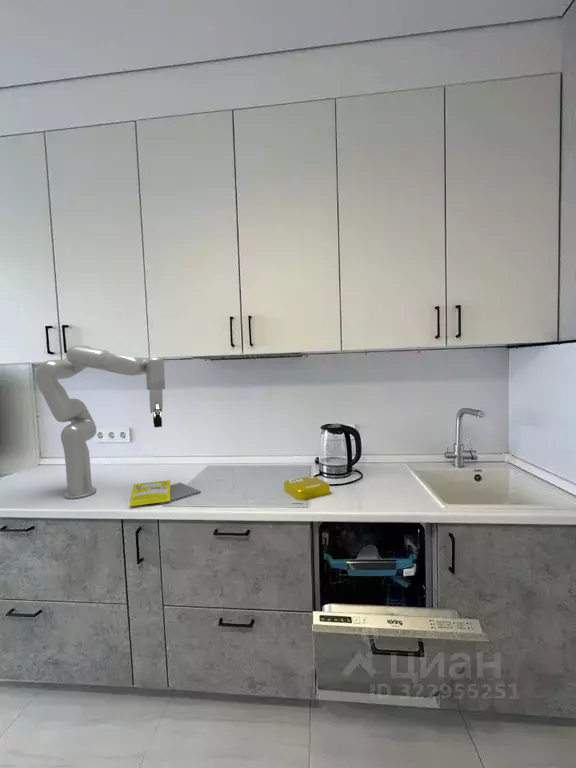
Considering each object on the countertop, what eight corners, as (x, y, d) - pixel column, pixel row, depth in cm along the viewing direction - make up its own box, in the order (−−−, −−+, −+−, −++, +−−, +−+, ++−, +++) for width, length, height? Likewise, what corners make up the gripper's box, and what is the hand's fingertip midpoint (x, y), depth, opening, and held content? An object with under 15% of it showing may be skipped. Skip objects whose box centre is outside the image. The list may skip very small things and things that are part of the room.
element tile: (299, 502, 157) (299, 490, 157) (282, 491, 171) (282, 480, 170) (331, 494, 164) (331, 483, 164) (313, 484, 177) (312, 474, 177)
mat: (142, 494, 173) (142, 493, 172) (180, 484, 185) (180, 482, 185) (161, 505, 159) (160, 503, 159) (200, 492, 172) (200, 491, 172)
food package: (133, 485, 176) (129, 507, 157) (133, 483, 175) (129, 504, 157) (170, 481, 180) (170, 502, 161) (170, 478, 180) (169, 499, 161)
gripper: (146, 385, 181) (148, 422, 182) (146, 387, 165) (148, 429, 166) (163, 384, 183) (165, 421, 185) (166, 387, 167) (167, 427, 168)
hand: (157, 425), depth 175 cm, fingers open, 9 cm apart
